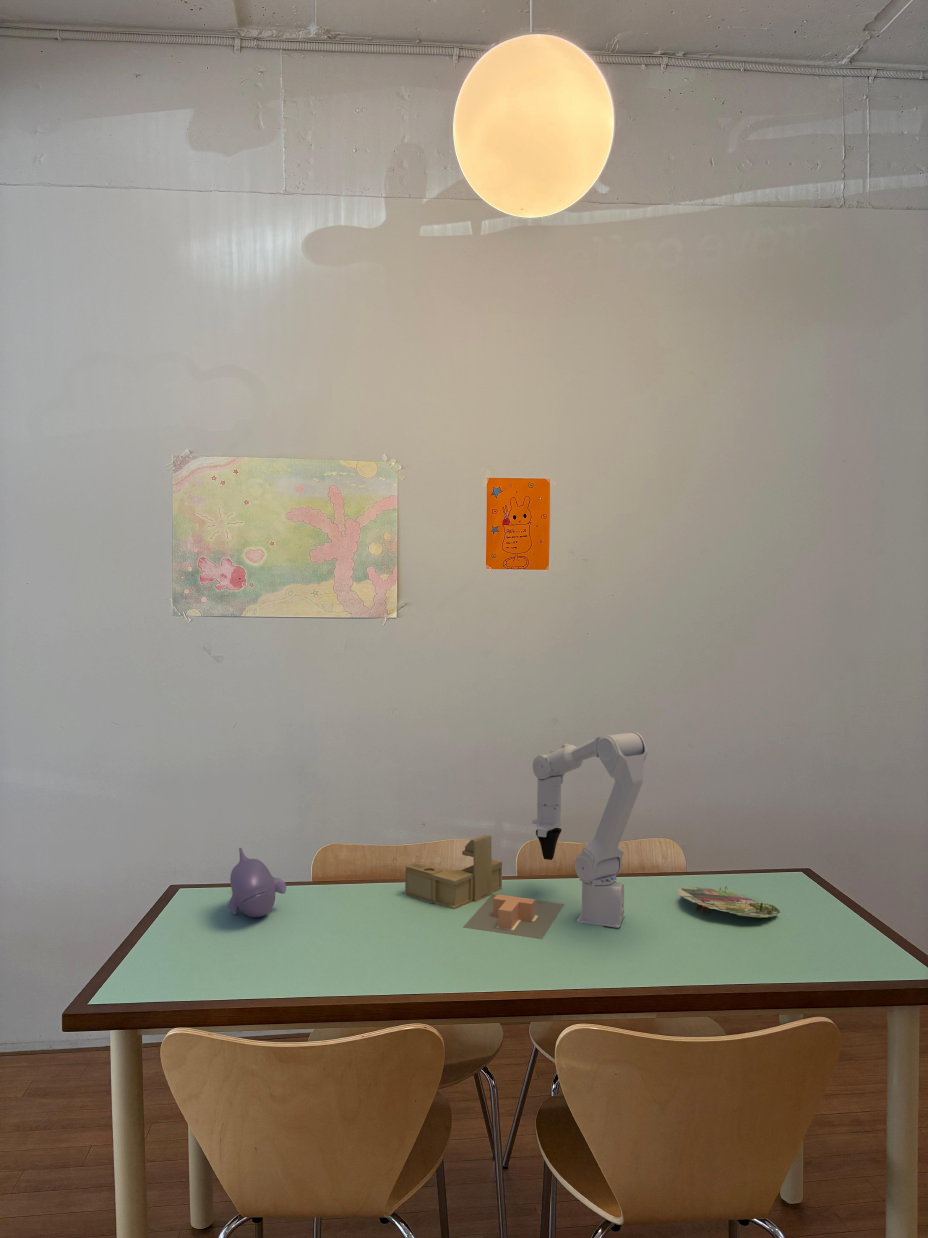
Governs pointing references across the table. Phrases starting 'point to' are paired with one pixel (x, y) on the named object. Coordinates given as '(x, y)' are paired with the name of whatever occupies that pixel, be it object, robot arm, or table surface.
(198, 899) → the table surface
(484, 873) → the toy kitchen set
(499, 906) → the t block
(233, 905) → the toy whale
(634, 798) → the robot arm
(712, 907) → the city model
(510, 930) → the mat
